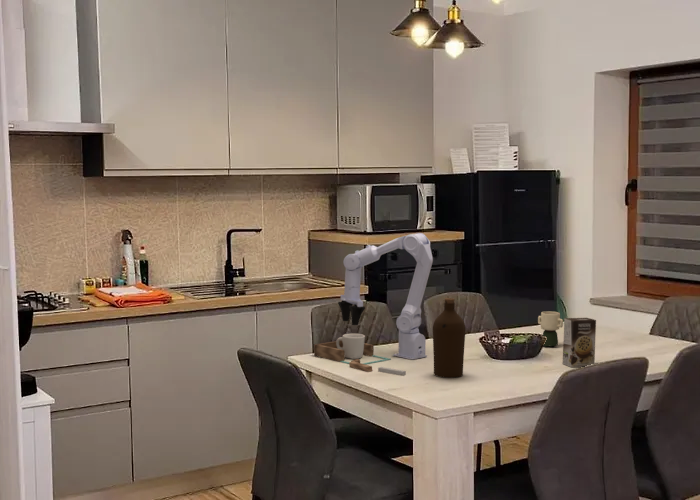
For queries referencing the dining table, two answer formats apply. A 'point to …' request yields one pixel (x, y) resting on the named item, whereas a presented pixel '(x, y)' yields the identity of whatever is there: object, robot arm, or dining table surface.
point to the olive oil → (448, 342)
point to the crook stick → (360, 365)
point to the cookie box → (579, 342)
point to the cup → (352, 345)
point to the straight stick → (392, 371)
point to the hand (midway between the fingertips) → (350, 322)
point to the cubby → (337, 350)
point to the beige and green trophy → (550, 326)
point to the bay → (373, 361)
